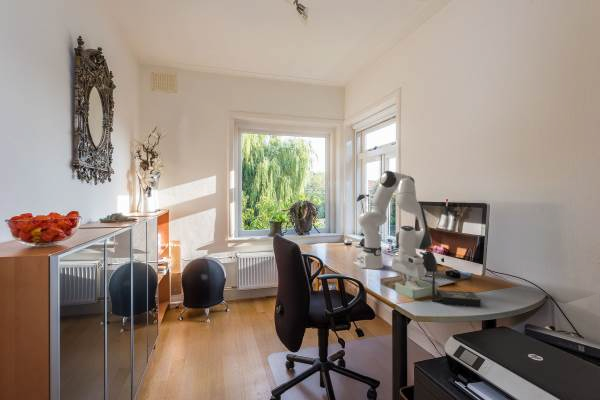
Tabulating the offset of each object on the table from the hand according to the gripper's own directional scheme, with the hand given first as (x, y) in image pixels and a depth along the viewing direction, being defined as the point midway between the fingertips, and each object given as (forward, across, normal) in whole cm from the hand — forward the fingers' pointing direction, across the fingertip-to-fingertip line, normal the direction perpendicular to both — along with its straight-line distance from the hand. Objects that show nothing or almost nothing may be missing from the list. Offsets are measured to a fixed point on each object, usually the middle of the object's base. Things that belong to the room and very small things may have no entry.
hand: (406, 282), depth 155 cm
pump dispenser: (+4, -14, +32) cm, 35 cm away
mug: (+4, -10, +17) cm, 20 cm away
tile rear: (+2, +3, 0) cm, 4 cm away
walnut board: (+4, -6, 0) cm, 8 cm away
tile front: (+1, +9, 0) cm, 9 cm away
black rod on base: (+5, +22, +8) cm, 24 cm away
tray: (+4, +6, 0) cm, 7 cm away
